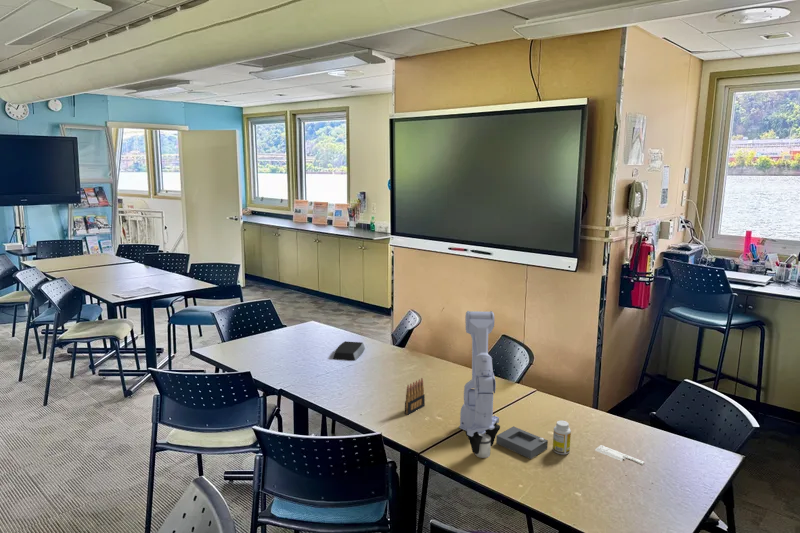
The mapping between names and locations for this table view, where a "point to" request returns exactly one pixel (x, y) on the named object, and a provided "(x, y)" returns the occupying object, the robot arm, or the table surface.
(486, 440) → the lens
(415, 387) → the ammunition clip
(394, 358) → the table surface
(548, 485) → the table surface
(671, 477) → the table surface
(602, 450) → the white plastic blade
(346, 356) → the external hard drive
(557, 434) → the supplement bottle
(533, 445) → the grey panel with knob
